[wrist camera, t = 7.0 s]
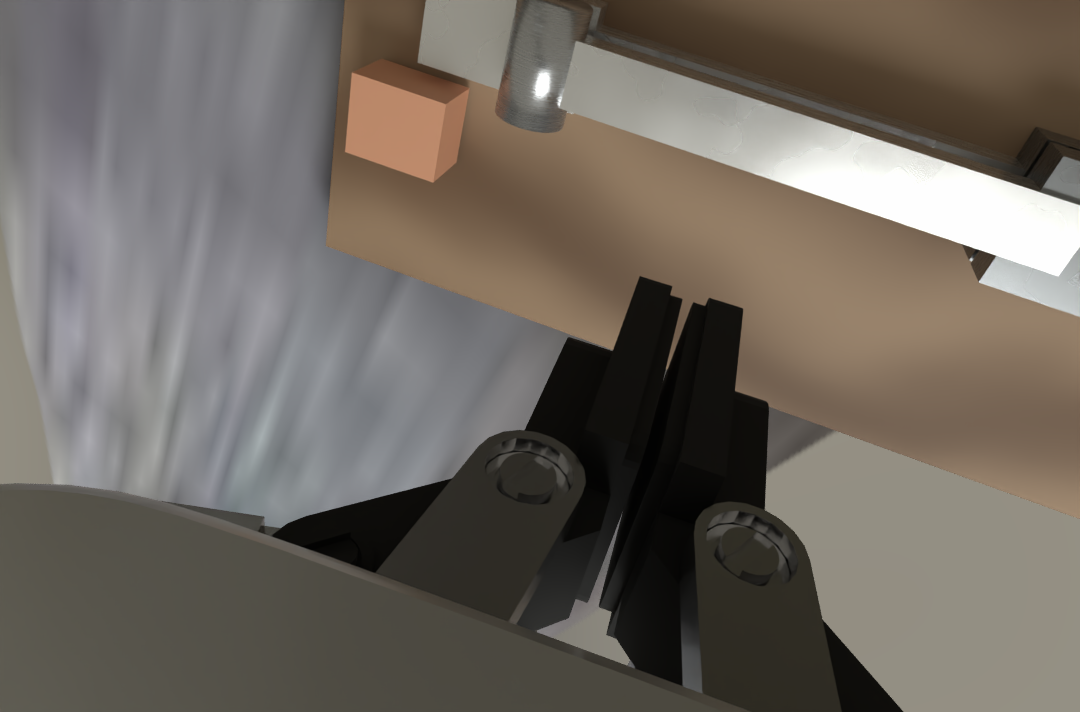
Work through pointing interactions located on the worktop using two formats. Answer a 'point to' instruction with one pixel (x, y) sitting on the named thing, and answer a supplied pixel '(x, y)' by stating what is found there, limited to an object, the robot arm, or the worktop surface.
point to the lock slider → (405, 119)
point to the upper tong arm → (802, 149)
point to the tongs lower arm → (485, 24)
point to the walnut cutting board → (765, 223)
